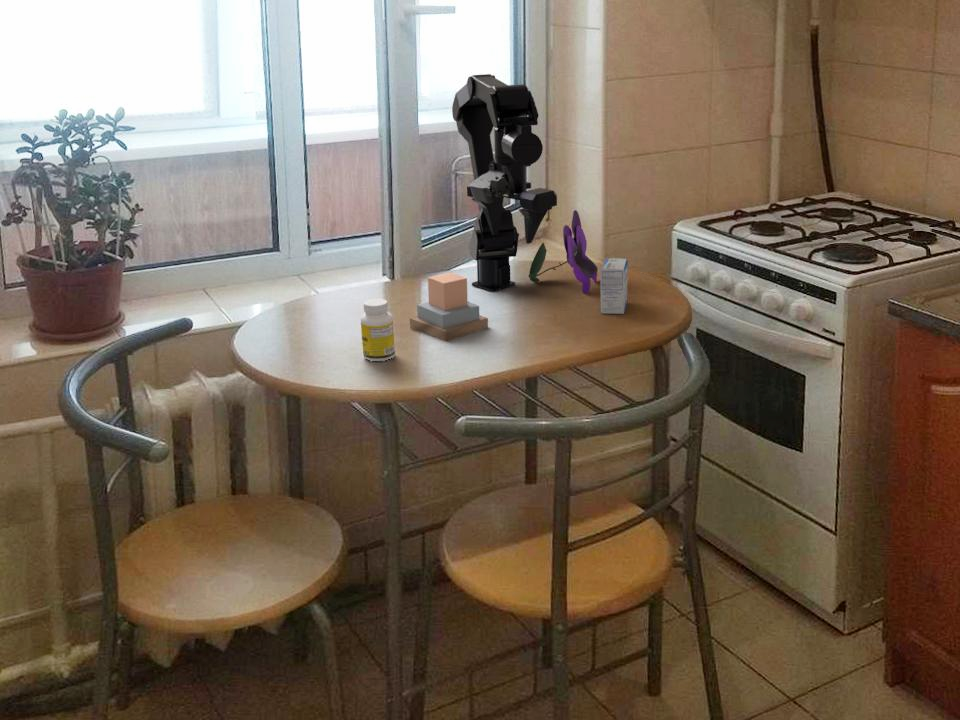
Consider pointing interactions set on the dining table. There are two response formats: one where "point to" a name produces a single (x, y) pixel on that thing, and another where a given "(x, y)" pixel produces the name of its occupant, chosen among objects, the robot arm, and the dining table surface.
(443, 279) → the terracotta cube
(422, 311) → the top block
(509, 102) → the robot arm
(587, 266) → the flower
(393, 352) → the supplement bottle
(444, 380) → the dining table surface
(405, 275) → the dining table surface
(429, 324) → the bottom block
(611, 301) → the medicine box
